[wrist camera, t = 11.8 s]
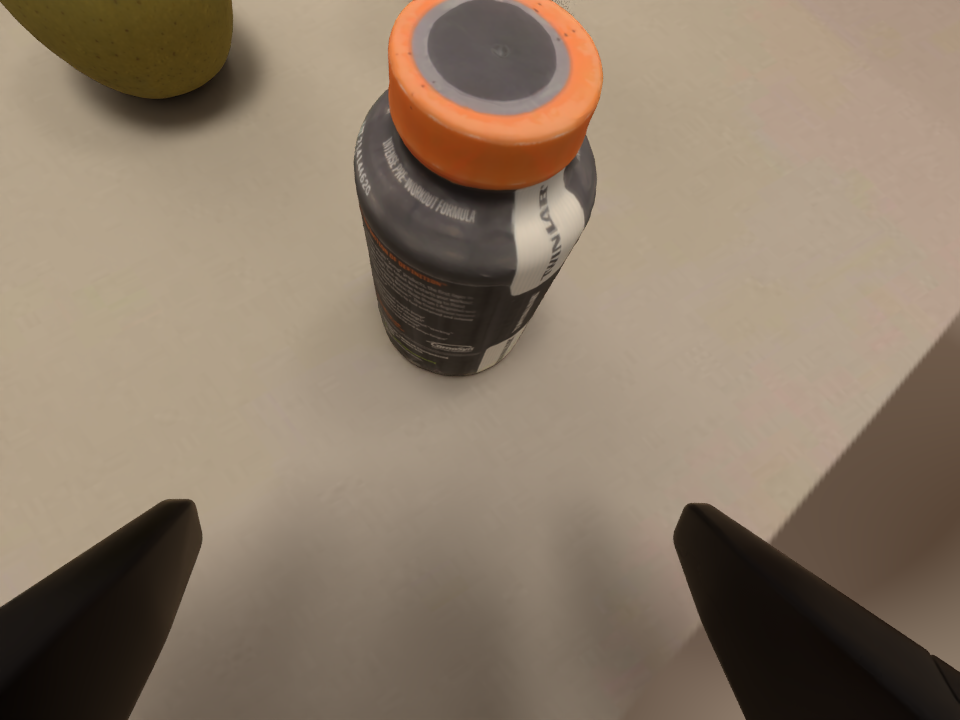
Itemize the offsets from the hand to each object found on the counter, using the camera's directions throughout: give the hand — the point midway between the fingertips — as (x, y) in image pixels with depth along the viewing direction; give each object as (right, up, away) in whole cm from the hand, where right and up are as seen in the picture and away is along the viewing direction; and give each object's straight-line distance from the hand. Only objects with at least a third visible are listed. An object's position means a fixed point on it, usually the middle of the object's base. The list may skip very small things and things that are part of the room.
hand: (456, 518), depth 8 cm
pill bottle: (-1, +5, +11) cm, 12 cm away
